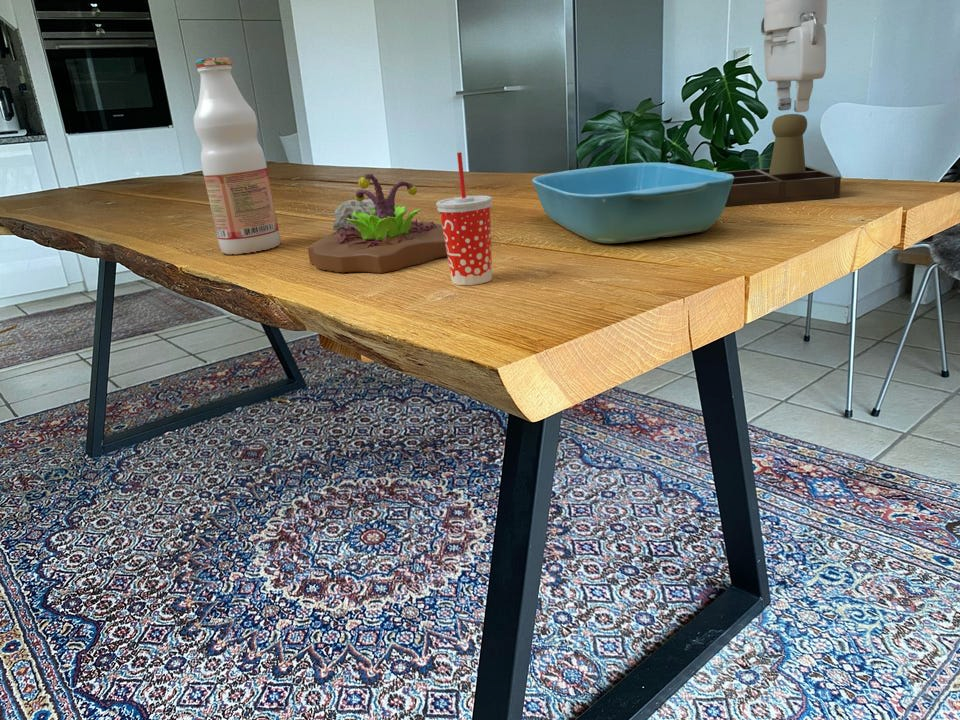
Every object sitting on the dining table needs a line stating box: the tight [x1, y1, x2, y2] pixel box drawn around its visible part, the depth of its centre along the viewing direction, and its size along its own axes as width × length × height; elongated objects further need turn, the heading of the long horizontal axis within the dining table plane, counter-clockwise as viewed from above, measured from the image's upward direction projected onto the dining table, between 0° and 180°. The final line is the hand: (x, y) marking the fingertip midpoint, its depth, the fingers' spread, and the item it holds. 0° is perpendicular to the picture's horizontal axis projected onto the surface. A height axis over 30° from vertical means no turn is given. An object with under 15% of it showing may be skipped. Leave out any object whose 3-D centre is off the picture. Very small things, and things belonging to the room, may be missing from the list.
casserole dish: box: [531, 161, 734, 244], centre depth 105 cm, size 37×22×7 cm, turn 9°
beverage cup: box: [435, 151, 493, 286], centre depth 81 cm, size 6×6×14 cm
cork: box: [769, 113, 808, 175], centre depth 119 cm, size 6×6×11 cm
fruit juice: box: [192, 57, 281, 255], centre depth 112 cm, size 9×9×28 cm
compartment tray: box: [721, 164, 842, 207], centre depth 118 cm, size 16×16×3 cm
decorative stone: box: [332, 198, 375, 233], centre depth 125 cm, size 12×11×5 cm
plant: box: [307, 173, 448, 274], centre depth 99 cm, size 20×20×11 cm
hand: (792, 111), depth 117 cm, fingers open, 8 cm apart
